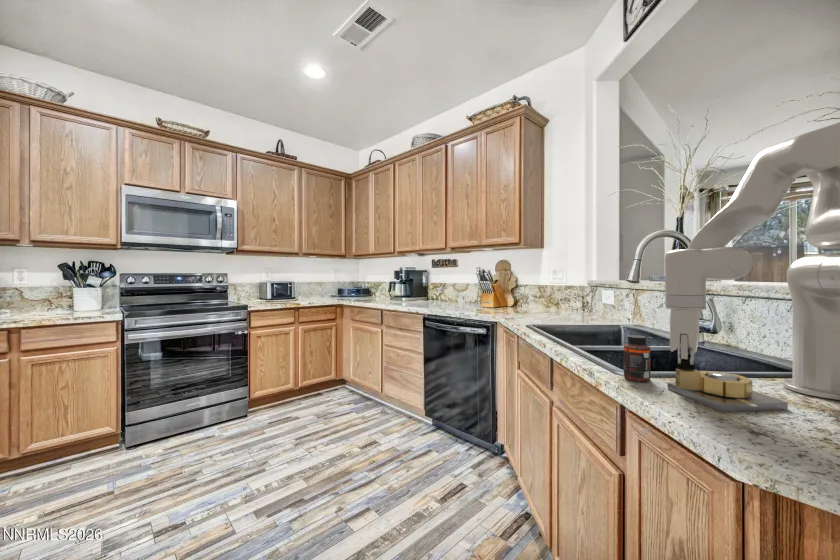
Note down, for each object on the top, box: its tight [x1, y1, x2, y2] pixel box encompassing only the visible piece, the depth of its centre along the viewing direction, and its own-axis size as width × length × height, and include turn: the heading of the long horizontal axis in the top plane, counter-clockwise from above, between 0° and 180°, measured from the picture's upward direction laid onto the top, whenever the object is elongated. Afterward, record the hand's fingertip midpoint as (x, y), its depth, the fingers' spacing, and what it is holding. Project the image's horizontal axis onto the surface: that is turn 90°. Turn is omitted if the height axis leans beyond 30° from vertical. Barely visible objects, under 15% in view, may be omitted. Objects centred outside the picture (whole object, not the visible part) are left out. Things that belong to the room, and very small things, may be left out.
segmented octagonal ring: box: [675, 368, 753, 398], centre depth 77 cm, size 13×9×4 cm
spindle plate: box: [667, 371, 789, 413], centre depth 76 cm, size 14×16×5 cm
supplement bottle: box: [623, 334, 651, 383], centre depth 91 cm, size 6×6×11 cm
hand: (686, 380), depth 81 cm, fingers closed
